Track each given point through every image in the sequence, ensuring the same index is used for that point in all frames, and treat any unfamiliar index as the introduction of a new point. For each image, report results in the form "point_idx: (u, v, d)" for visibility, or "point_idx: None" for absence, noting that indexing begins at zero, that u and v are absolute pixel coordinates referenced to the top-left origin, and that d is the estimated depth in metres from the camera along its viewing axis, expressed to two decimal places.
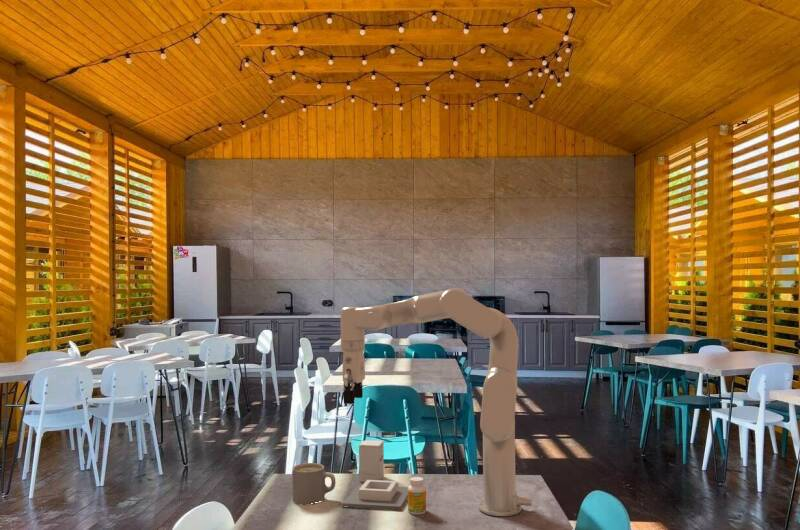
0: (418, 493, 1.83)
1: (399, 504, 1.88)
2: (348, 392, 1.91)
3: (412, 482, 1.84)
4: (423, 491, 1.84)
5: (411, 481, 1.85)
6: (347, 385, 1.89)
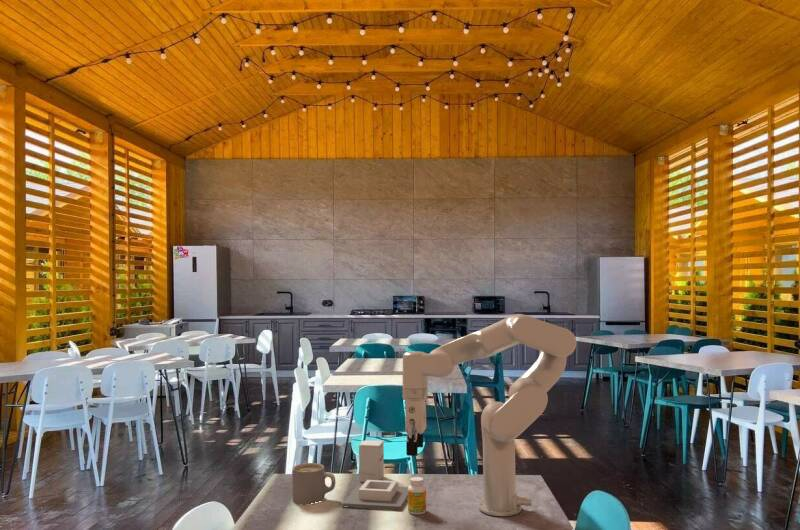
0: (418, 493, 1.83)
1: (399, 504, 1.88)
2: (412, 443, 1.80)
3: (412, 482, 1.84)
4: (423, 491, 1.84)
5: (411, 481, 1.85)
6: (411, 436, 1.79)
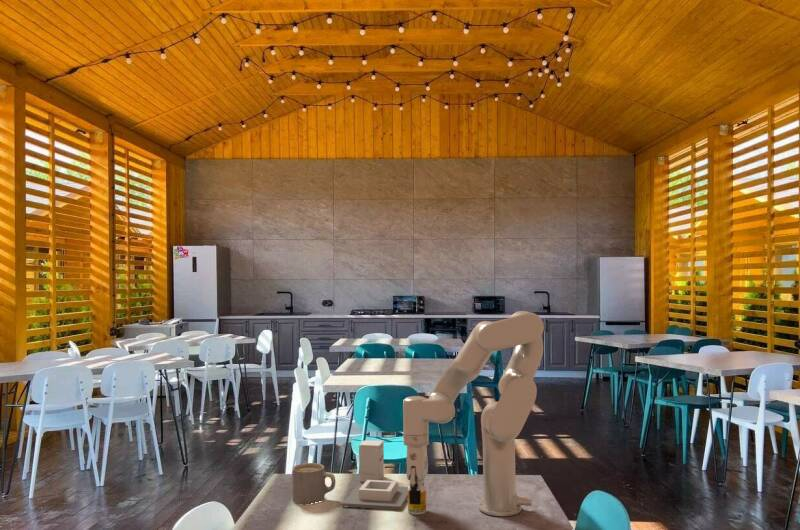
0: None
1: (399, 504, 1.88)
2: (415, 492, 1.82)
3: None
4: (423, 491, 1.84)
5: None
6: (414, 486, 1.80)
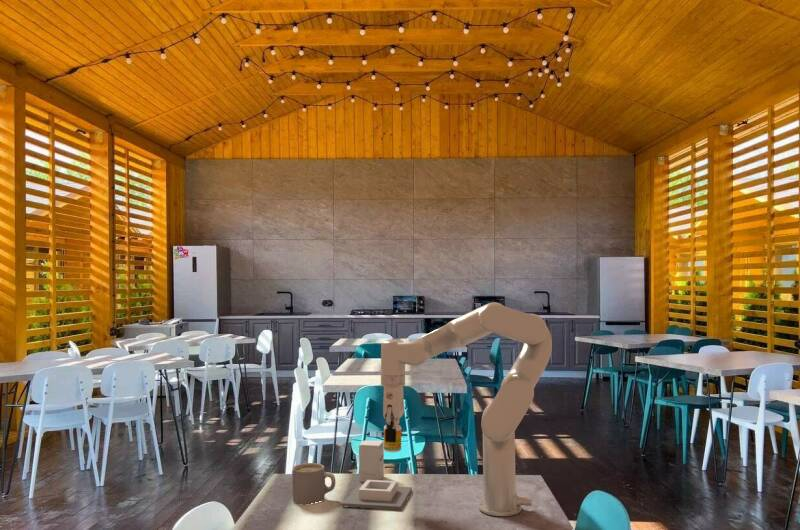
0: None
1: (399, 504, 1.88)
2: (391, 430, 1.89)
3: None
4: (398, 430, 1.91)
5: None
6: (390, 424, 1.87)
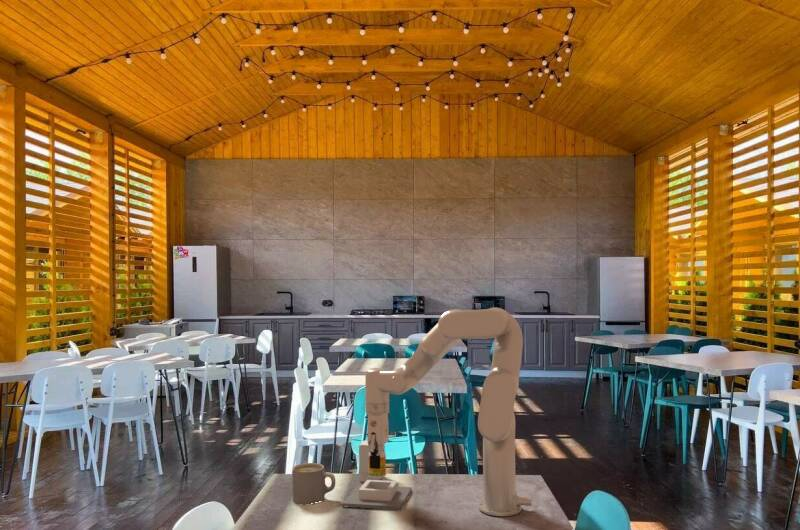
0: None
1: (399, 504, 1.88)
2: (375, 457, 1.94)
3: None
4: (383, 456, 1.96)
5: None
6: (374, 451, 1.92)
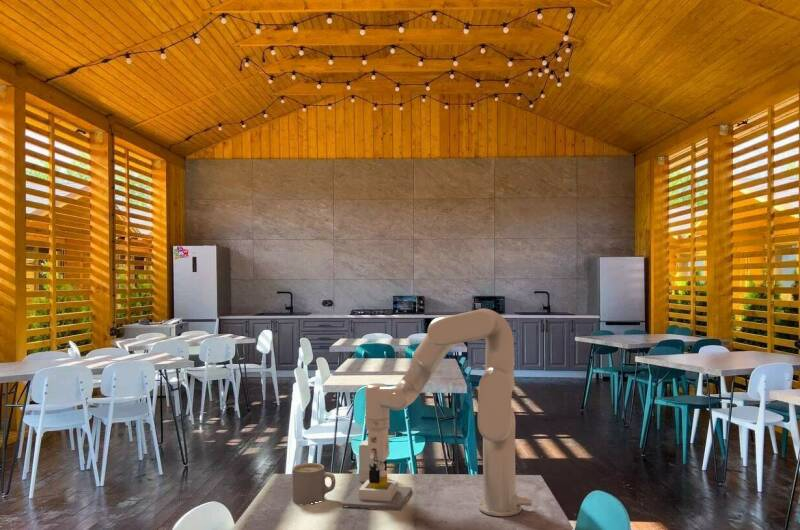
0: None
1: (399, 504, 1.88)
2: (374, 471, 1.92)
3: None
4: (384, 475, 1.95)
5: None
6: (373, 465, 1.90)
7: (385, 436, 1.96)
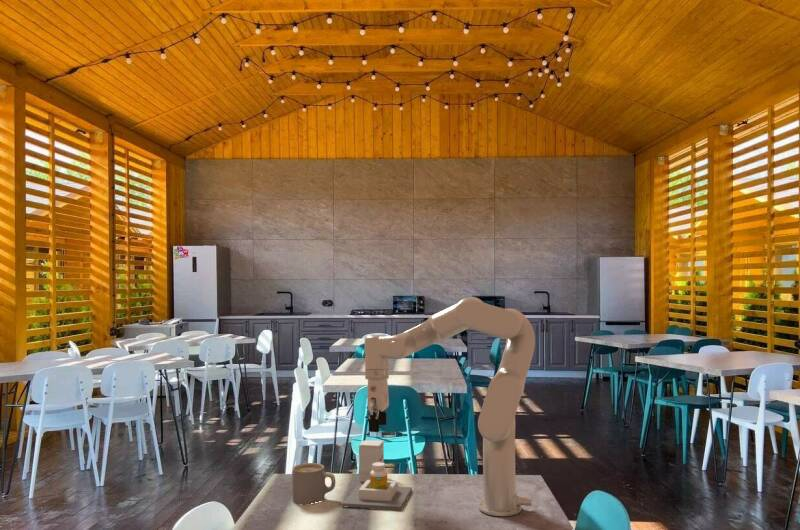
0: (379, 477, 1.95)
1: (399, 504, 1.88)
2: (374, 420, 1.92)
3: (374, 467, 1.96)
4: (384, 475, 1.95)
5: (373, 466, 1.96)
6: (373, 413, 1.91)
7: (384, 386, 1.97)
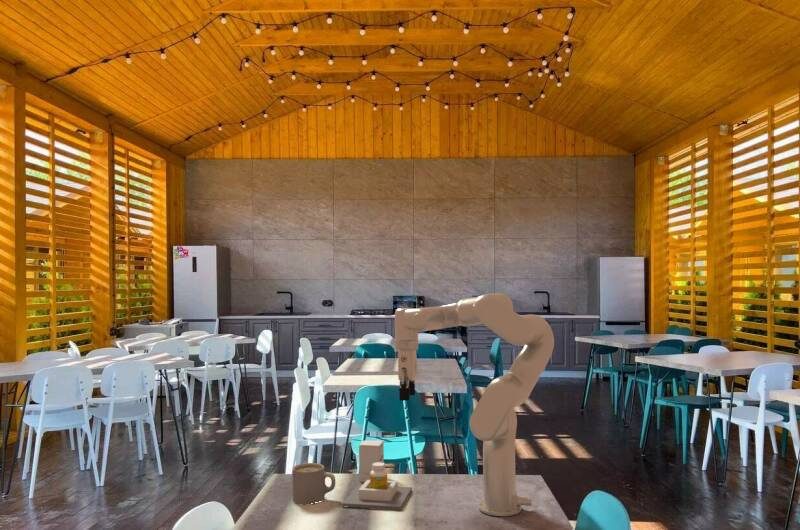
0: (379, 477, 1.95)
1: (399, 504, 1.88)
2: (404, 389, 2.00)
3: (374, 467, 1.96)
4: (384, 475, 1.95)
5: (373, 466, 1.96)
6: (404, 382, 1.98)
7: (414, 357, 2.04)
